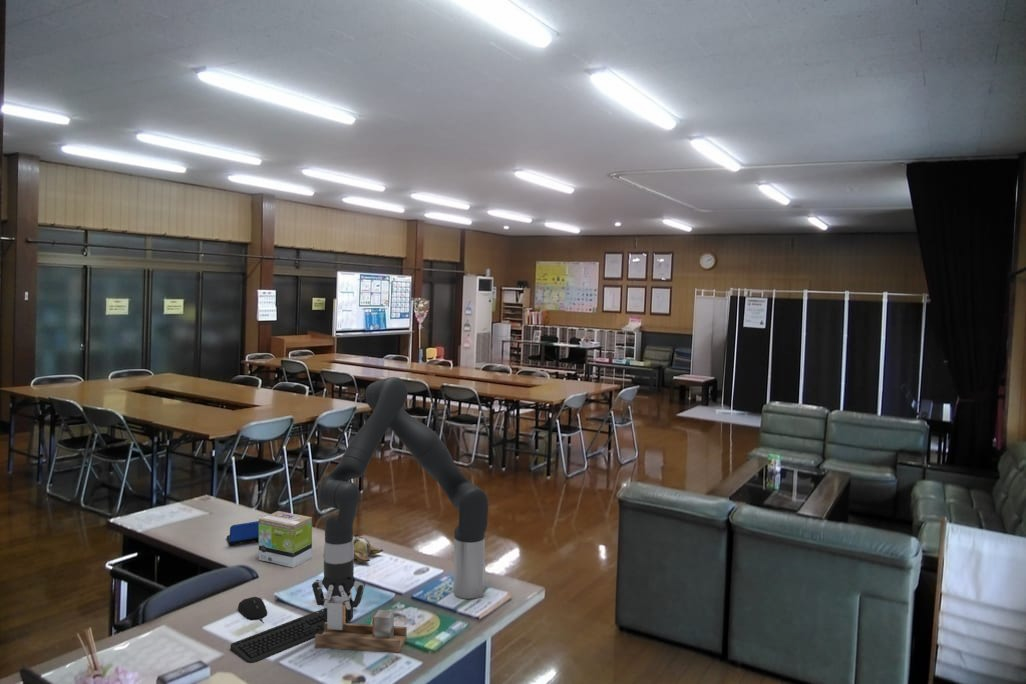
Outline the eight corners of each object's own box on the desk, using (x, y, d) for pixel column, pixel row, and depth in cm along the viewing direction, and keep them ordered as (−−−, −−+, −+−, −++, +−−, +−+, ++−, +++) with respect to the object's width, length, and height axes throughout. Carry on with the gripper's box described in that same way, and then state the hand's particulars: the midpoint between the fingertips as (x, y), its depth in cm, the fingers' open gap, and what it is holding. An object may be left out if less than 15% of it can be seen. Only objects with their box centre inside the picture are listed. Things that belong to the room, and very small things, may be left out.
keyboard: (250, 667, 164) (250, 659, 164) (229, 651, 171) (229, 643, 171) (353, 624, 186) (353, 617, 186) (330, 611, 193) (330, 605, 193)
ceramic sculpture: (347, 525, 238) (385, 533, 234) (346, 549, 239) (383, 557, 235) (330, 536, 228) (369, 544, 224) (329, 560, 229) (368, 569, 225)
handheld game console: (270, 532, 256) (270, 508, 256) (276, 543, 245) (276, 518, 244) (225, 539, 249) (225, 514, 248) (230, 551, 237) (230, 525, 237)
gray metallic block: (332, 621, 178) (333, 595, 177) (349, 622, 177) (349, 597, 177) (327, 629, 174) (327, 602, 173) (344, 630, 173) (344, 603, 173)
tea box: (257, 561, 228) (257, 518, 227) (278, 551, 237) (278, 509, 236) (293, 568, 222) (293, 524, 221) (313, 557, 231) (313, 515, 231)
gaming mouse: (252, 627, 183) (252, 613, 182) (234, 608, 194) (234, 594, 194) (275, 621, 187) (275, 607, 186) (257, 602, 198) (256, 589, 198)
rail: (406, 637, 178) (406, 608, 177) (399, 652, 170) (399, 621, 170) (325, 632, 180) (325, 603, 179) (315, 647, 172) (314, 616, 172)
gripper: (370, 553, 177) (369, 616, 178) (317, 550, 179) (317, 612, 180) (361, 564, 170) (360, 629, 171) (306, 561, 171) (306, 626, 172)
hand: (338, 620), depth 175 cm, fingers closed on gray metallic block, 4 cm apart
